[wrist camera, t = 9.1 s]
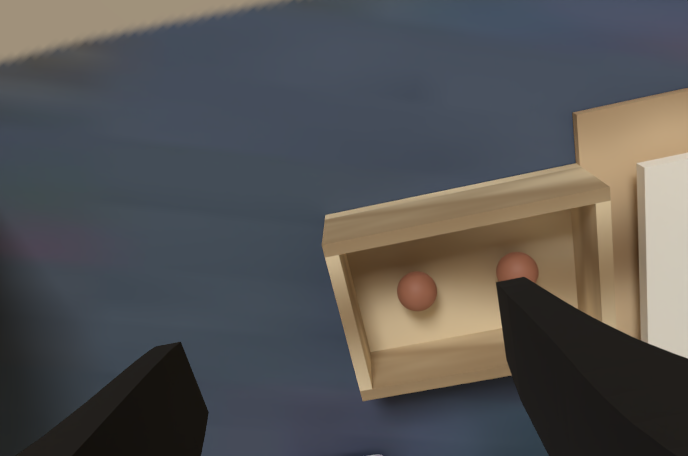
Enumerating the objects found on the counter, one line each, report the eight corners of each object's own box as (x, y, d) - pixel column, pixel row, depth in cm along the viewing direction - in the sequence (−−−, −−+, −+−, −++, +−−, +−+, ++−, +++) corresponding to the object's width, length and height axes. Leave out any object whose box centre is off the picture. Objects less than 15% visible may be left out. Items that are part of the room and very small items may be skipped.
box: (586, 316, 24) (617, 356, 21) (361, 356, 25) (362, 401, 22) (575, 163, 21) (610, 186, 18) (325, 215, 22) (321, 244, 19)
